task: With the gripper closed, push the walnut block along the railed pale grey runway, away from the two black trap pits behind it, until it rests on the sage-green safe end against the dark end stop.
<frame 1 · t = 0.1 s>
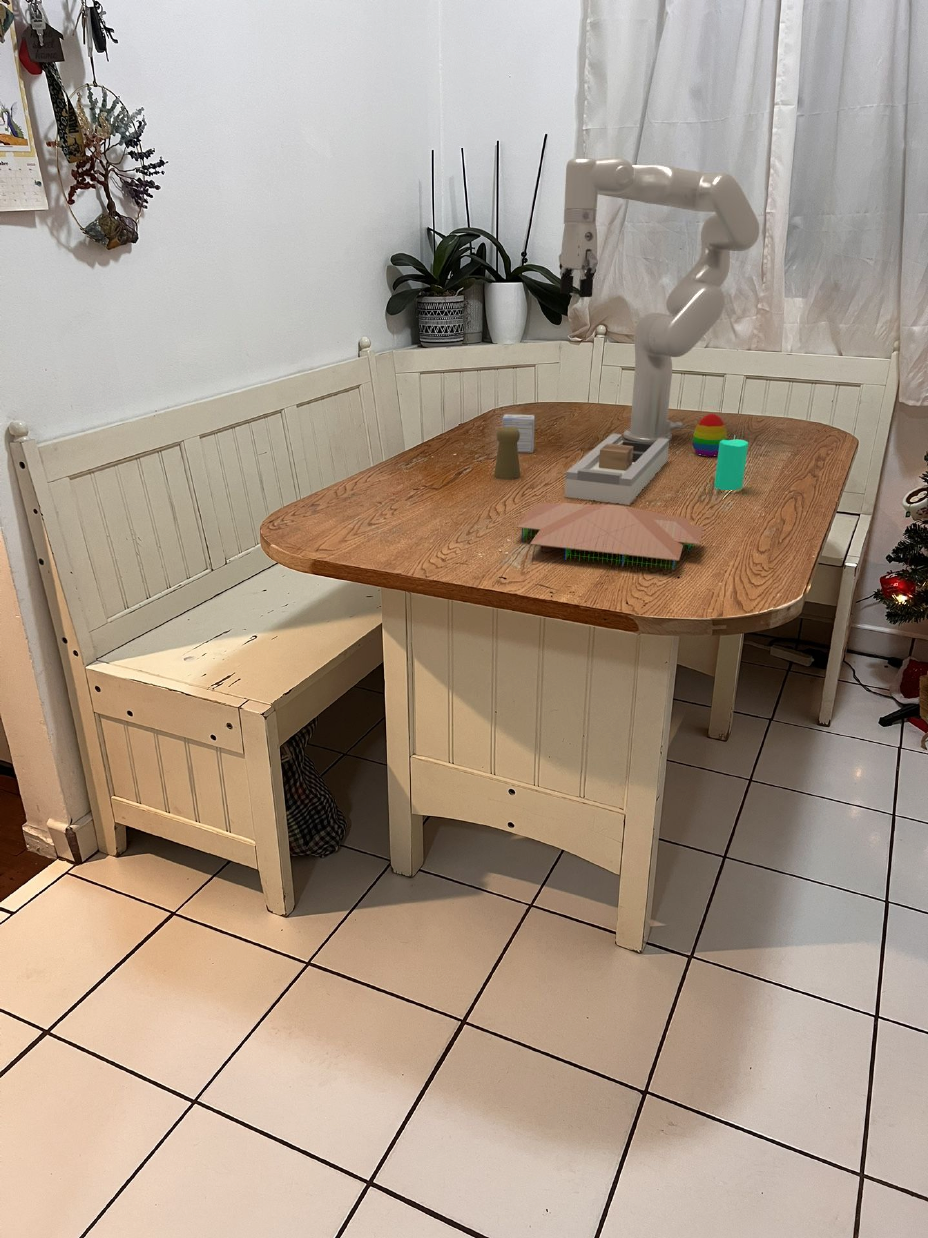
hand: (575, 294, 222), 37 cm above the table, tool pointing down, fingers open, 9 cm apart
walnut block: (615, 465, 205), point 4 cm above the table, touching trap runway
house: (607, 548, 170), on the table
decorative egg: (707, 454, 231), on the table
medicine box: (517, 451, 233), on the table
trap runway: (619, 478, 210), on the table
candle: (727, 489, 203), on the table
olive pawn: (507, 476, 212), on the table
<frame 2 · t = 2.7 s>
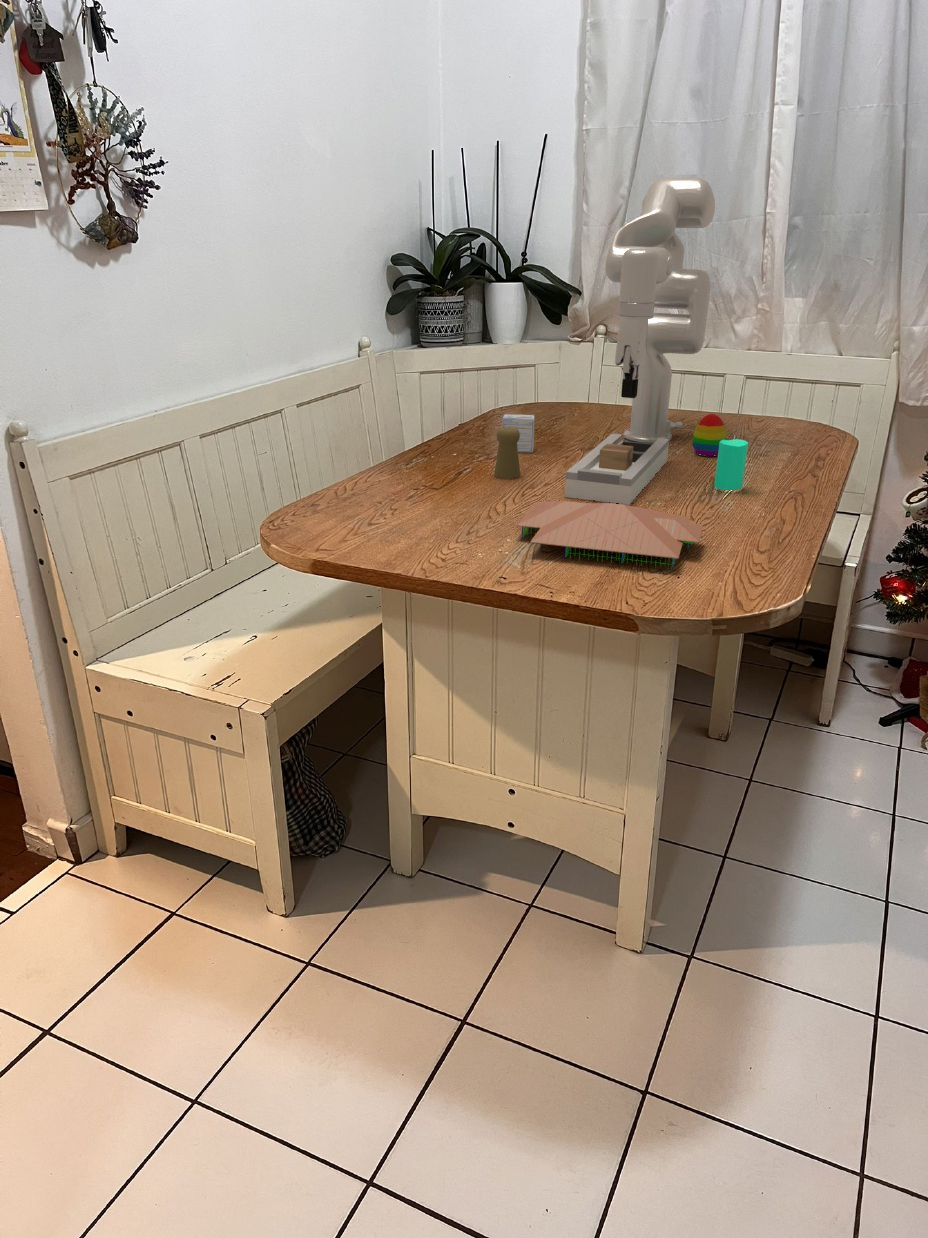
hand: (628, 396, 206), 18 cm above the table, tool pointing down, fingers closed
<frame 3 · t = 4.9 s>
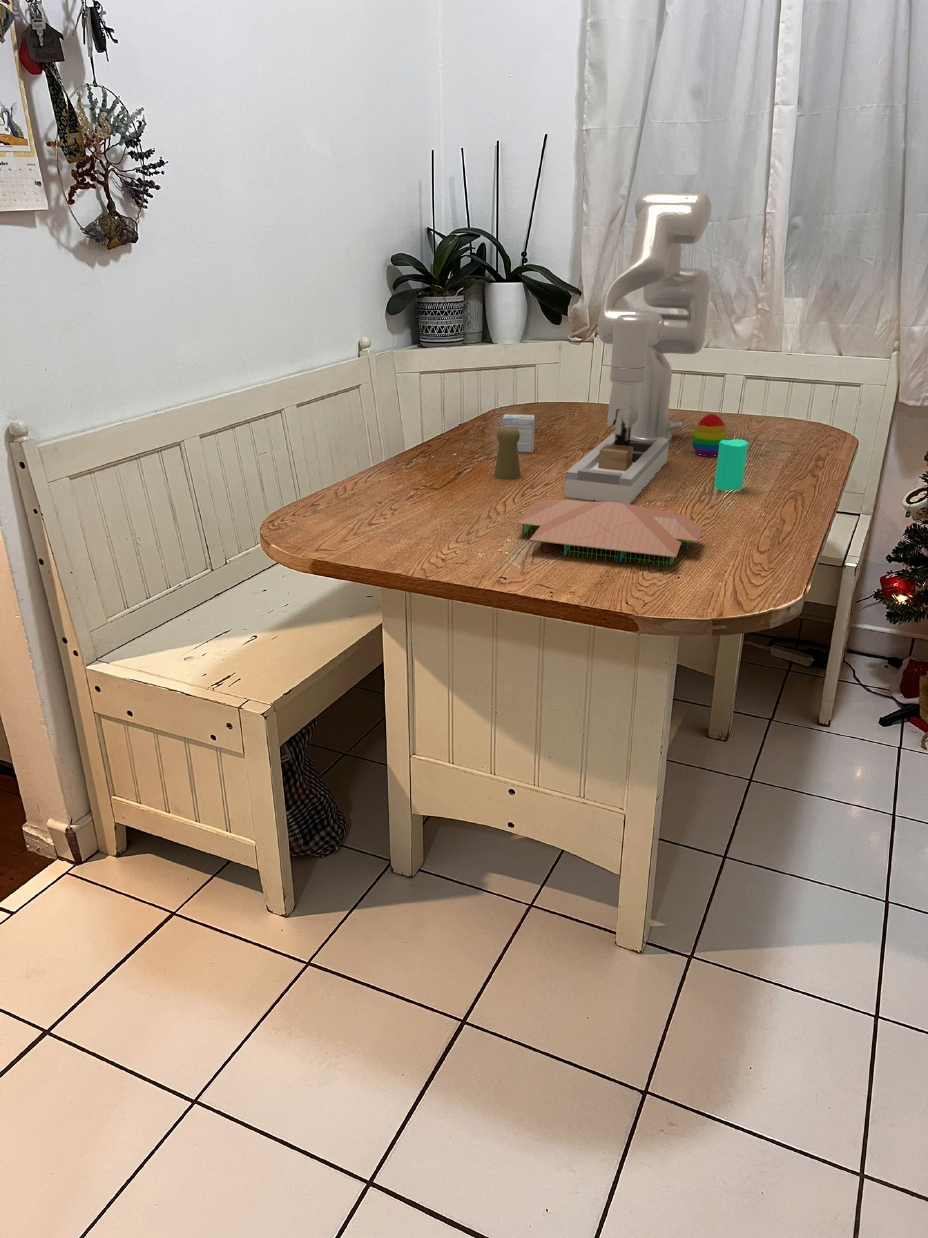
hand: (621, 456, 209), 5 cm above the table, tool pointing down, fingers closed
walnut block: (615, 466, 205), point 4 cm above the table, touching gripper, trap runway
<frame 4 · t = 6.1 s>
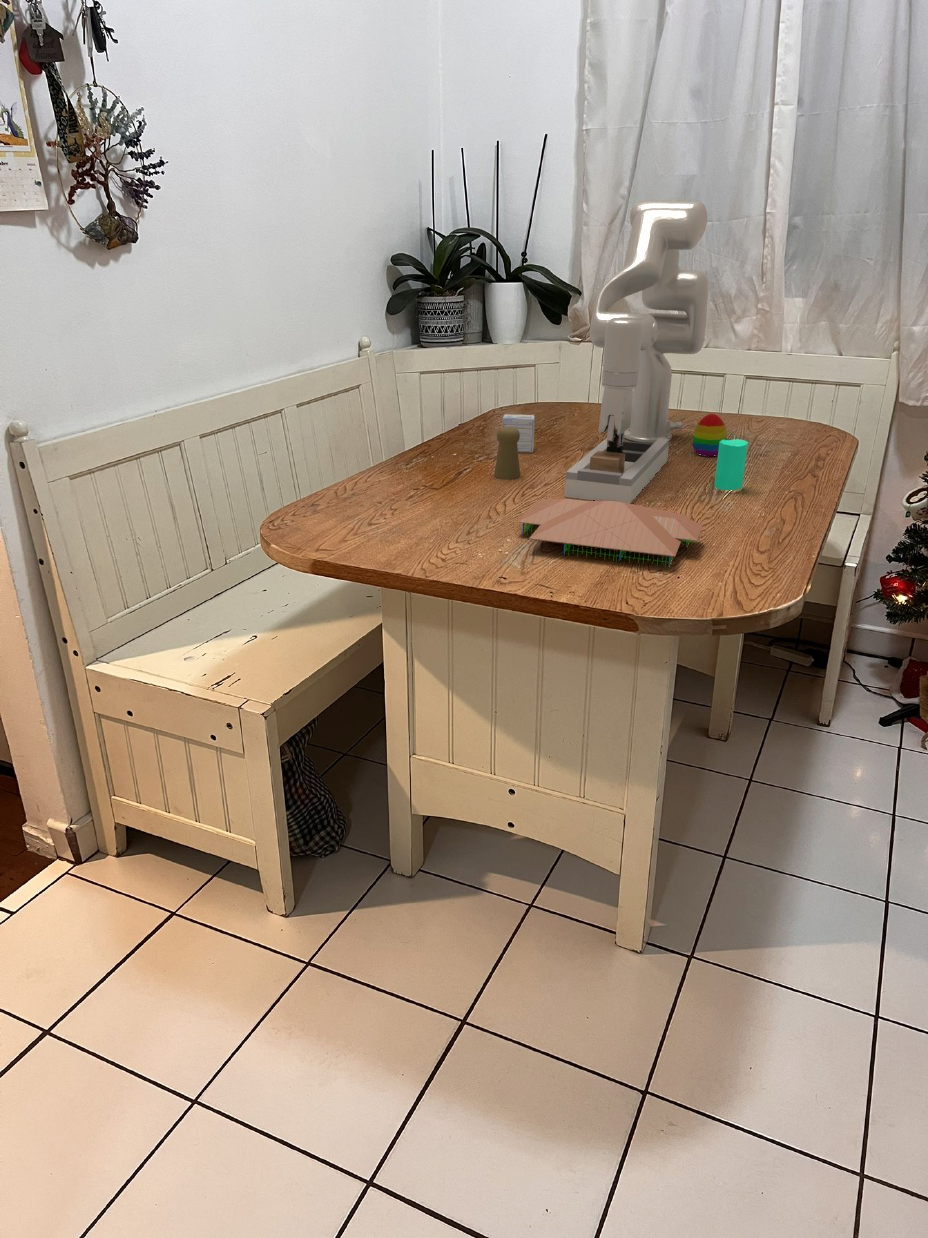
hand: (613, 463, 203), 5 cm above the table, tool pointing down, fingers closed
walnut block: (606, 473, 199), point 4 cm above the table, touching gripper
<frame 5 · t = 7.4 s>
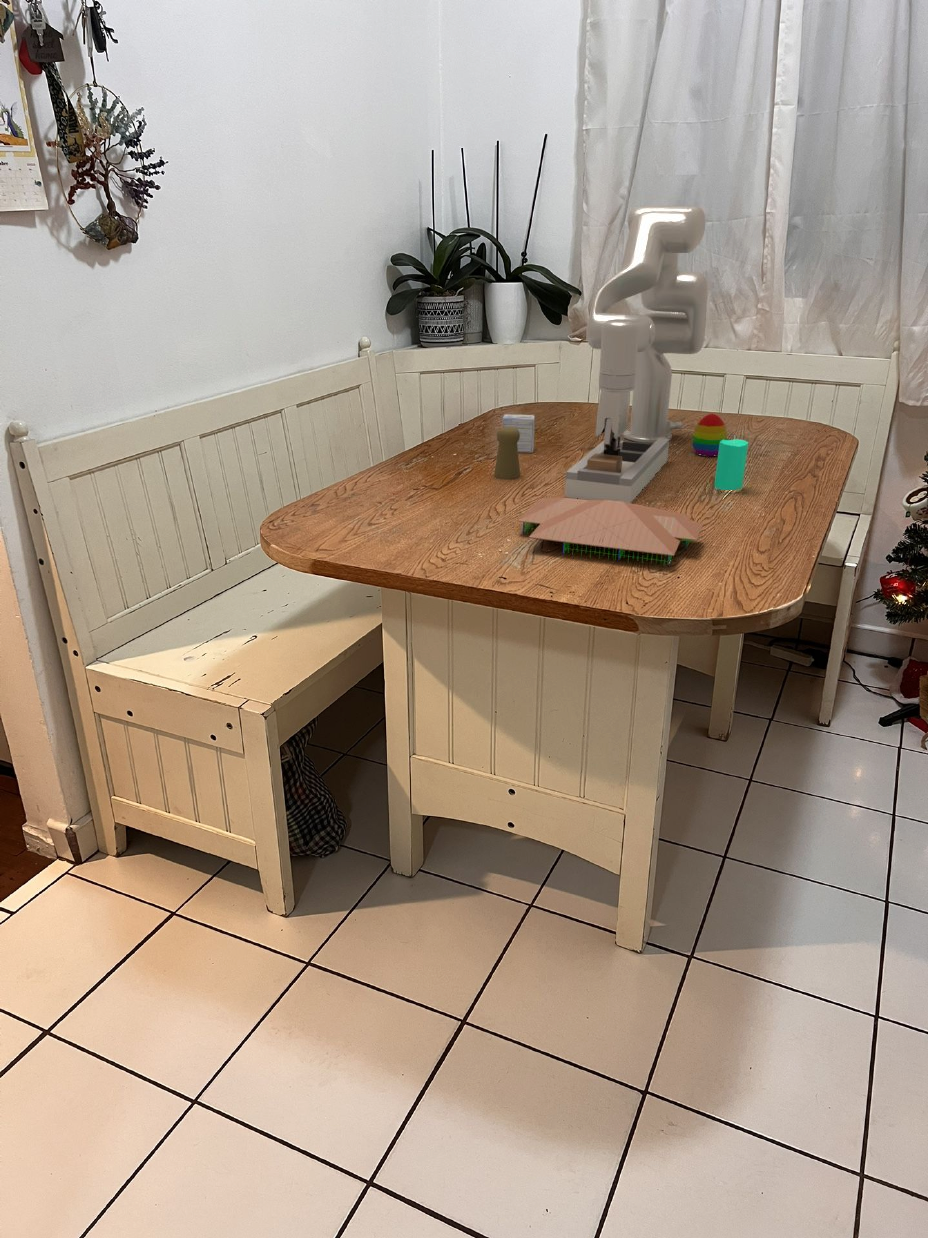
hand: (610, 466, 201), 5 cm above the table, tool pointing down, fingers closed
walnut block: (603, 476, 197), point 4 cm above the table, touching gripper, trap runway
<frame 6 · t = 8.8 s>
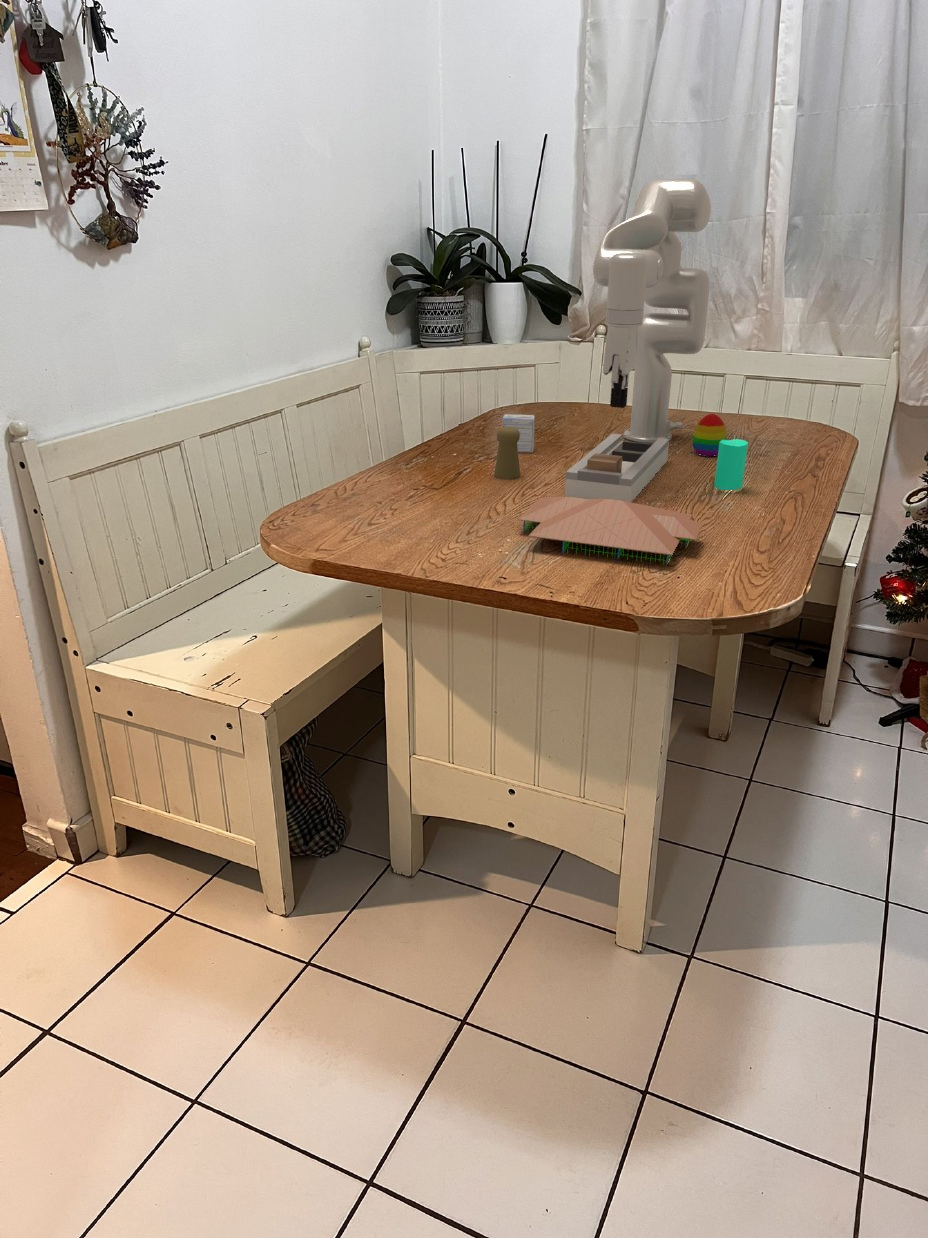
hand: (618, 406, 198), 17 cm above the table, tool pointing down, fingers closed
walnut block: (603, 476, 197), point 4 cm above the table, touching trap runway
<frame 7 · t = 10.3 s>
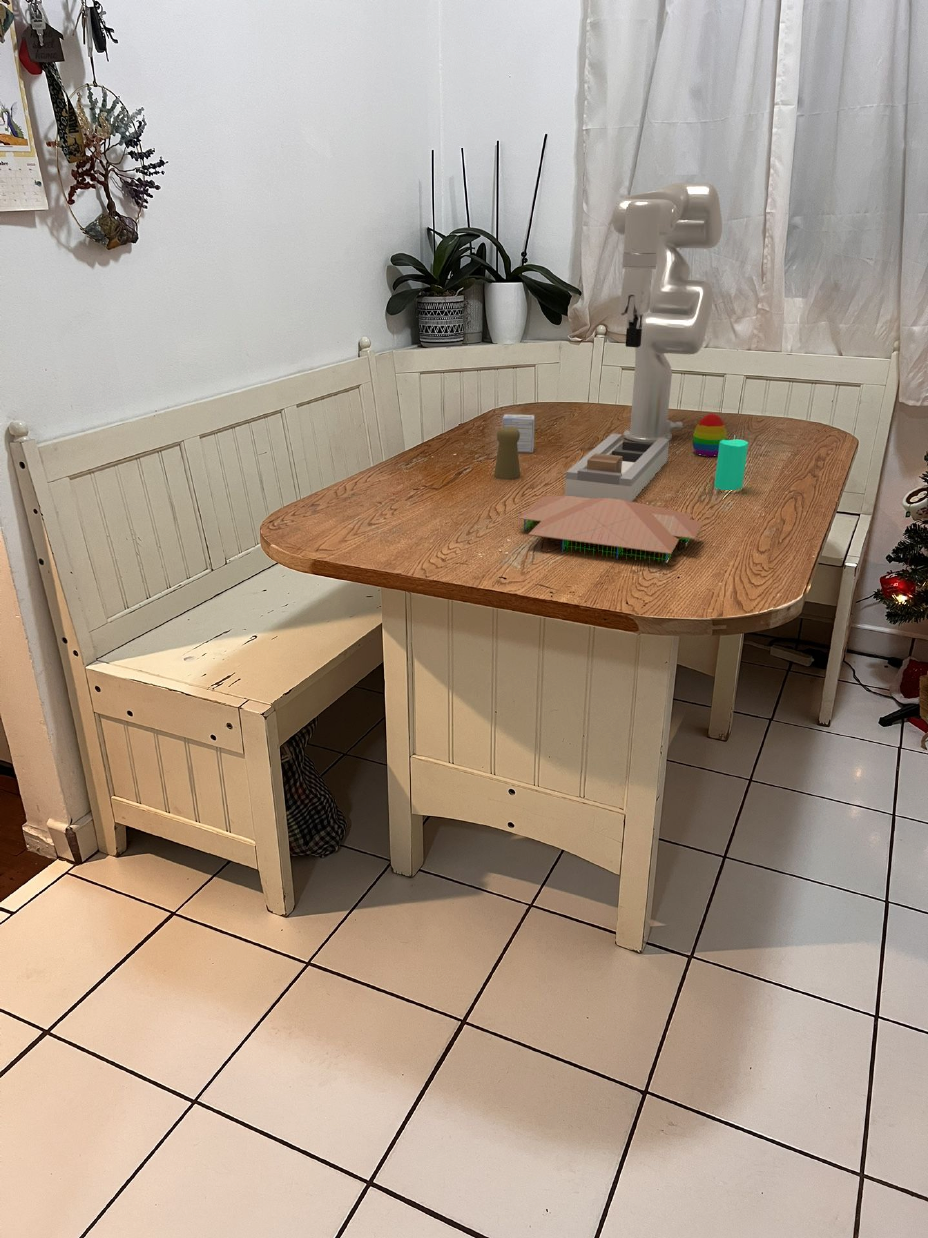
hand: (632, 346, 213), 27 cm above the table, tool pointing down, fingers closed
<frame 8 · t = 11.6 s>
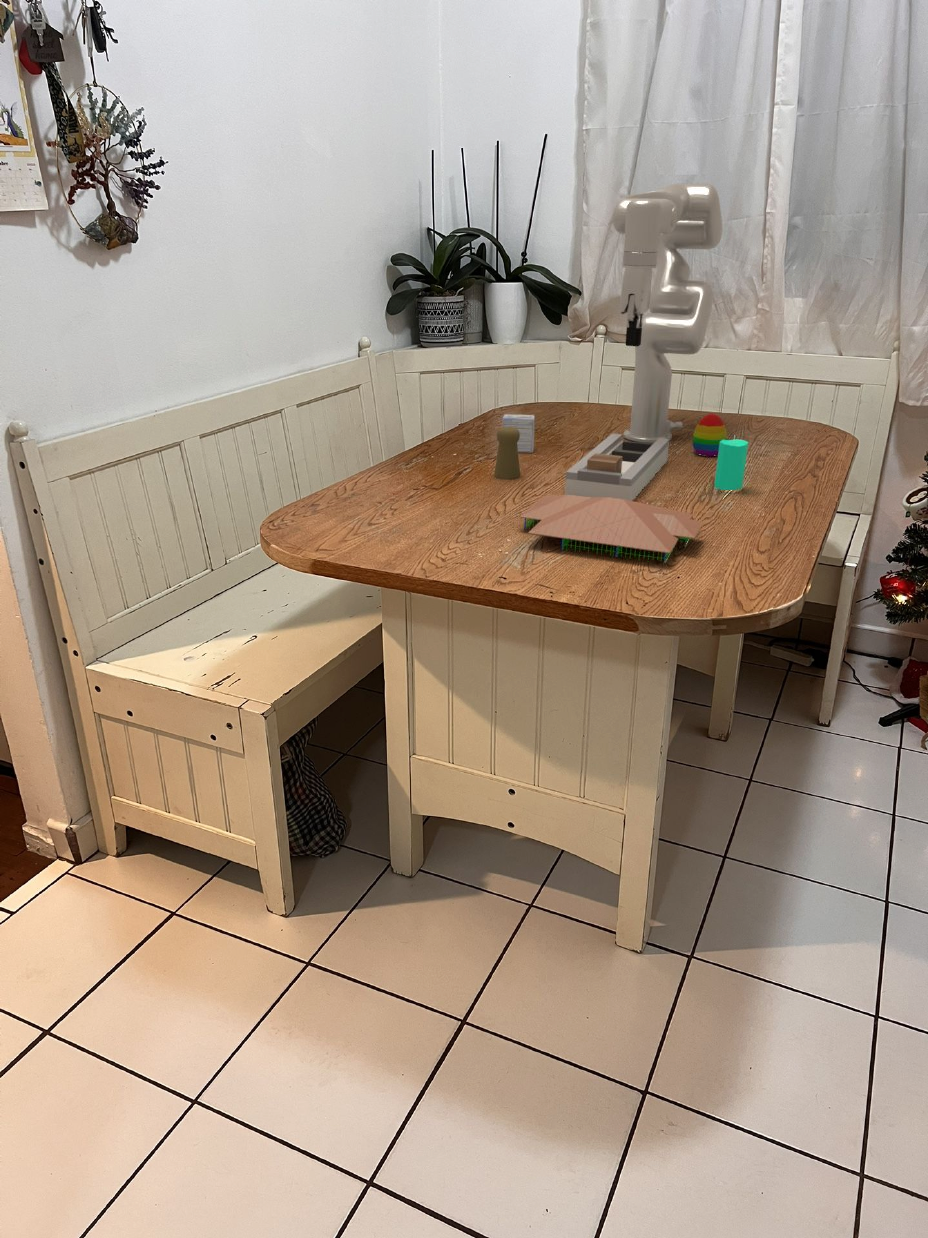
hand: (633, 345, 213), 27 cm above the table, tool pointing down, fingers closed
at the end: walnut block 0.9 cm from the target spot on the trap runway, point 4.0 cm above the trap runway's base; walnut block tilted 0°; the gripper is holding nothing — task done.
